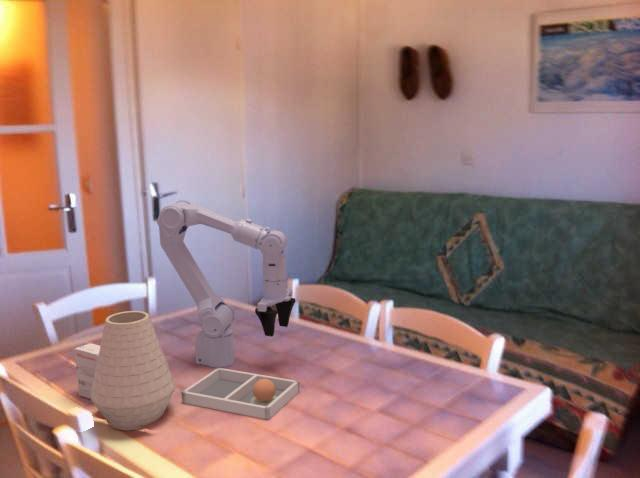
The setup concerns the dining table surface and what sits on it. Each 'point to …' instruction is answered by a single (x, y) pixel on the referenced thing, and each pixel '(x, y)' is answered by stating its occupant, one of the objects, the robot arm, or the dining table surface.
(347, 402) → the dining table surface
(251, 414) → the tray
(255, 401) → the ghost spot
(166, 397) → the vase
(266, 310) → the robot arm
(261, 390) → the ball
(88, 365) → the ink box
